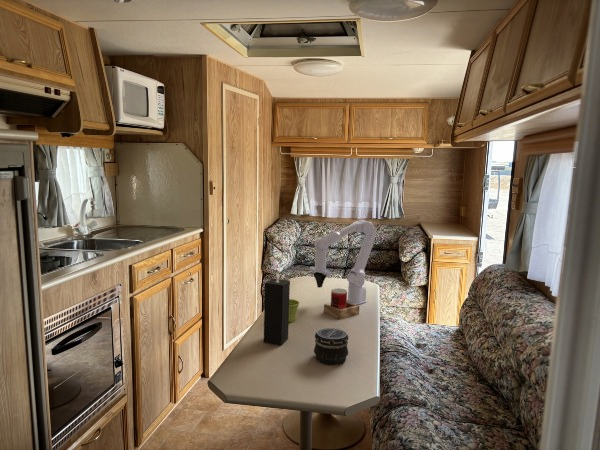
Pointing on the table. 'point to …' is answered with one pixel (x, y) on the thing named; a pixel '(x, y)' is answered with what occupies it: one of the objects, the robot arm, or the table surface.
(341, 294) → the canned food
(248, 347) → the table surface
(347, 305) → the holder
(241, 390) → the table surface
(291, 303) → the plant pot
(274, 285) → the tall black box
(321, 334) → the container
